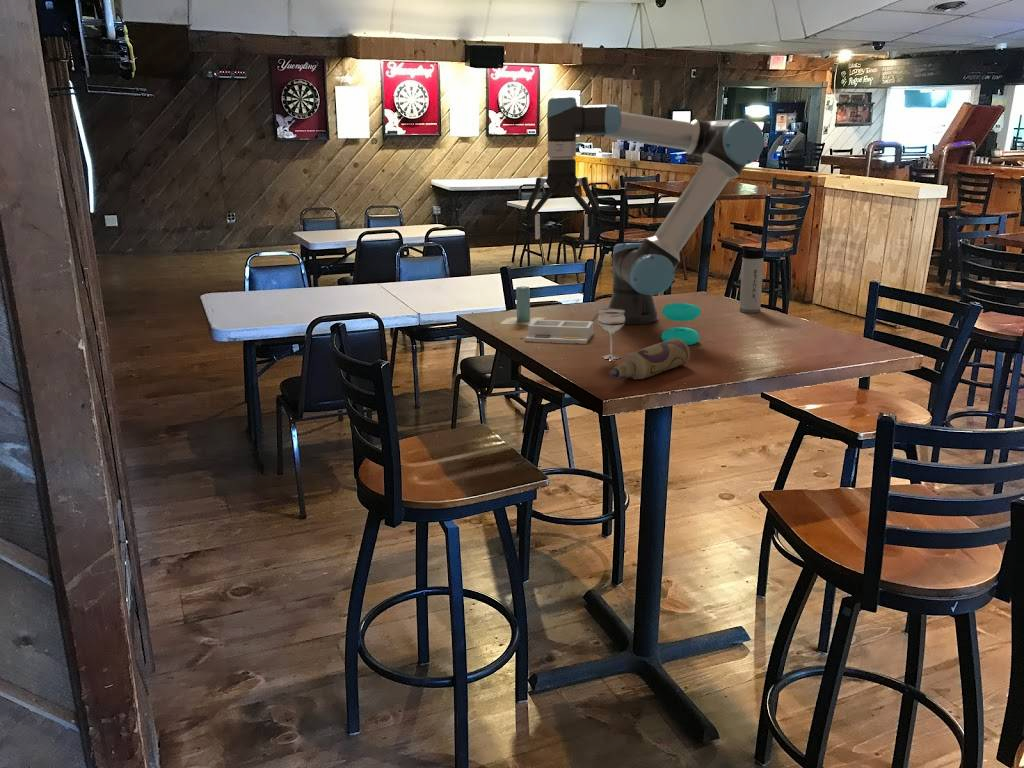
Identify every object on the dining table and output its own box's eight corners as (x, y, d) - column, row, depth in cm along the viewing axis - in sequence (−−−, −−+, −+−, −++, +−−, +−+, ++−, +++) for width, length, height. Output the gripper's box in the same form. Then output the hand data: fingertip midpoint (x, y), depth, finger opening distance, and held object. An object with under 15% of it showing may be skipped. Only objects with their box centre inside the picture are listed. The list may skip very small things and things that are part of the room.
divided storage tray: (593, 333, 234) (593, 321, 233) (586, 343, 223) (586, 331, 222) (534, 331, 238) (534, 319, 237) (525, 341, 227) (524, 329, 226)
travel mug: (742, 308, 263) (746, 244, 257) (763, 310, 259) (767, 246, 253) (735, 311, 258) (738, 247, 252) (755, 314, 254) (760, 248, 248)
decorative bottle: (665, 361, 205) (666, 335, 203) (691, 367, 200) (692, 340, 198) (596, 384, 188) (596, 355, 186) (622, 391, 183) (622, 361, 181)
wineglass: (605, 353, 214) (606, 307, 210) (629, 356, 210) (630, 310, 206) (592, 359, 208) (593, 312, 205) (616, 362, 205) (617, 315, 201)
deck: (546, 321, 251) (546, 317, 251) (539, 328, 242) (539, 325, 242) (508, 319, 254) (508, 316, 254) (499, 327, 245) (499, 323, 245)
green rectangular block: (531, 319, 249) (531, 286, 246) (528, 322, 246) (527, 289, 243) (518, 319, 250) (517, 286, 247) (515, 321, 246) (514, 288, 244)
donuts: (703, 309, 215) (664, 309, 215) (702, 346, 218) (663, 347, 218) (697, 301, 224) (660, 302, 225) (696, 337, 227) (659, 338, 228)
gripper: (512, 159, 220) (514, 240, 226) (606, 158, 214) (605, 241, 220) (519, 158, 227) (521, 236, 233) (610, 157, 221) (609, 237, 227)
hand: (561, 239), depth 227 cm, fingers open, 13 cm apart
